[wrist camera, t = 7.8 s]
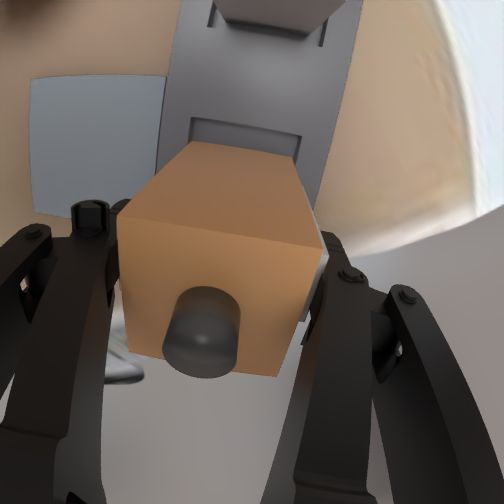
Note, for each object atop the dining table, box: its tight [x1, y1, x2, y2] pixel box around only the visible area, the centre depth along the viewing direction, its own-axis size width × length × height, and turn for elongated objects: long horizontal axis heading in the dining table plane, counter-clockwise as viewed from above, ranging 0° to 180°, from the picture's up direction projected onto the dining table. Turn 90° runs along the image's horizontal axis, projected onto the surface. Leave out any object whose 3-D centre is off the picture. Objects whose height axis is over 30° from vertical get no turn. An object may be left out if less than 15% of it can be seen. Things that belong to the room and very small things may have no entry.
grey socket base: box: [156, 0, 363, 210], centre depth 12 cm, size 10×24×11 cm, turn 170°
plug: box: [117, 141, 323, 378], centre depth 12 cm, size 5×5×11 cm
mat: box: [29, 75, 167, 219], centre depth 19 cm, size 11×11×1 cm
